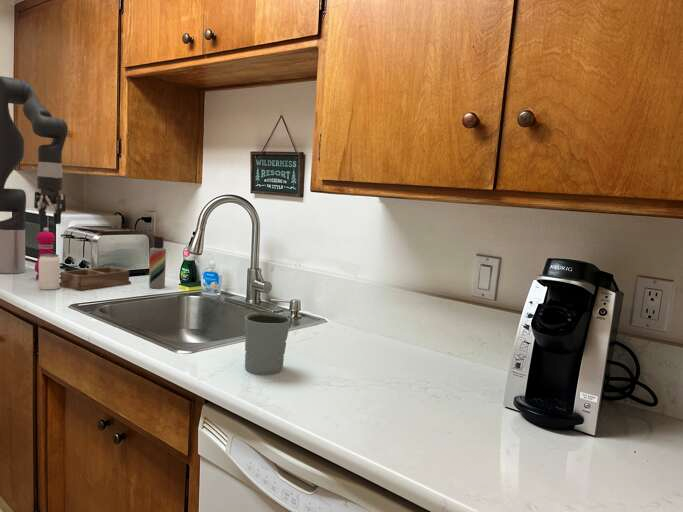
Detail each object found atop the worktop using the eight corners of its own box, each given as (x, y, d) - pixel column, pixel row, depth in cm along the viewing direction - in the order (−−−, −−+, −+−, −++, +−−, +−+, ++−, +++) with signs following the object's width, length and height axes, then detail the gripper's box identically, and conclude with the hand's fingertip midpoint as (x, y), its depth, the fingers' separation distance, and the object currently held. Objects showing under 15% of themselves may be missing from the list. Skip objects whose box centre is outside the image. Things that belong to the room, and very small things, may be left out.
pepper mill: (30, 279, 194) (30, 226, 192) (46, 276, 201) (46, 226, 199) (45, 281, 192) (45, 228, 190) (60, 279, 199) (61, 227, 197)
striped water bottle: (146, 286, 198) (148, 234, 195) (161, 285, 202) (162, 235, 199) (152, 289, 194) (154, 236, 191) (167, 288, 197) (168, 236, 195)
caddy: (58, 285, 187) (58, 271, 187) (108, 279, 206) (109, 266, 205) (81, 291, 181) (81, 276, 181) (130, 284, 200) (131, 271, 199)
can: (39, 290, 177) (39, 256, 176) (37, 287, 182) (37, 253, 181) (60, 289, 181) (61, 256, 180) (58, 286, 186) (58, 253, 185)
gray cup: (233, 366, 118) (236, 315, 116) (267, 358, 125) (270, 310, 124) (261, 379, 111) (264, 325, 109) (295, 370, 118) (299, 319, 117)
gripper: (26, 174, 177) (26, 221, 179) (51, 176, 170) (51, 224, 172) (48, 175, 184) (47, 220, 186) (73, 177, 177) (72, 224, 179)
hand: (49, 222), depth 179 cm, fingers open, 8 cm apart
